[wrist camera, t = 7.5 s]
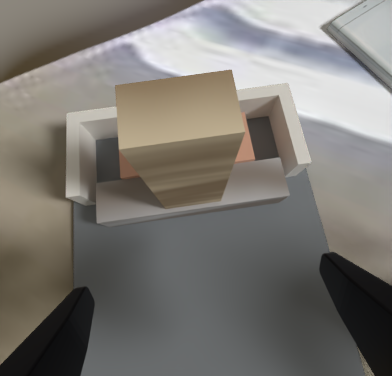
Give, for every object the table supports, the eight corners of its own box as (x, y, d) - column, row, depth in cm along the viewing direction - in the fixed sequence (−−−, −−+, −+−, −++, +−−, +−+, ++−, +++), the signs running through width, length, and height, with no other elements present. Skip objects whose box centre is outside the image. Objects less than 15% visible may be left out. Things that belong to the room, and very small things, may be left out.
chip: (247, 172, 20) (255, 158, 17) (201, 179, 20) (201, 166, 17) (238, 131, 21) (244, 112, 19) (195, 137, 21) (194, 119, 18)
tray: (295, 175, 20) (311, 162, 17) (85, 205, 20) (65, 197, 17) (276, 105, 22) (288, 82, 19) (84, 131, 22) (66, 113, 19)
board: (366, 393, 16) (371, 398, 16) (77, 439, 16) (73, 445, 16) (283, 98, 23) (284, 94, 22) (76, 126, 23) (73, 123, 22)
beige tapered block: (279, 202, 19) (404, 118, 7) (109, 227, 19) (-44, 181, 7) (270, 169, 20) (371, 43, 8) (108, 191, 20) (-32, 97, 8)
